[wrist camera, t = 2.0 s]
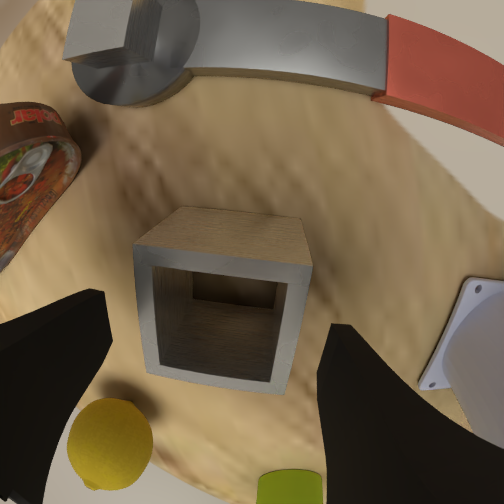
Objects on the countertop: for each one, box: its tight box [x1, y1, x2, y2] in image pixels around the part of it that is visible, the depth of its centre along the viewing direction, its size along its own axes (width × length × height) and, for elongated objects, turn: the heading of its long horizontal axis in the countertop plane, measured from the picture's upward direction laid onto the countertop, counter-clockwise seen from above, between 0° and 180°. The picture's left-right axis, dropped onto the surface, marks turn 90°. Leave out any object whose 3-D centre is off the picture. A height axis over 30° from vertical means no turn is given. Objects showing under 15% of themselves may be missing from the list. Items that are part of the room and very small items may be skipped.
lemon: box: [67, 398, 153, 491], centre depth 15 cm, size 6×6×8 cm
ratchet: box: [62, 0, 504, 147], centre depth 8 cm, size 21×6×4 cm, turn 85°
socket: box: [133, 206, 313, 395], centre depth 12 cm, size 5×5×5 cm
